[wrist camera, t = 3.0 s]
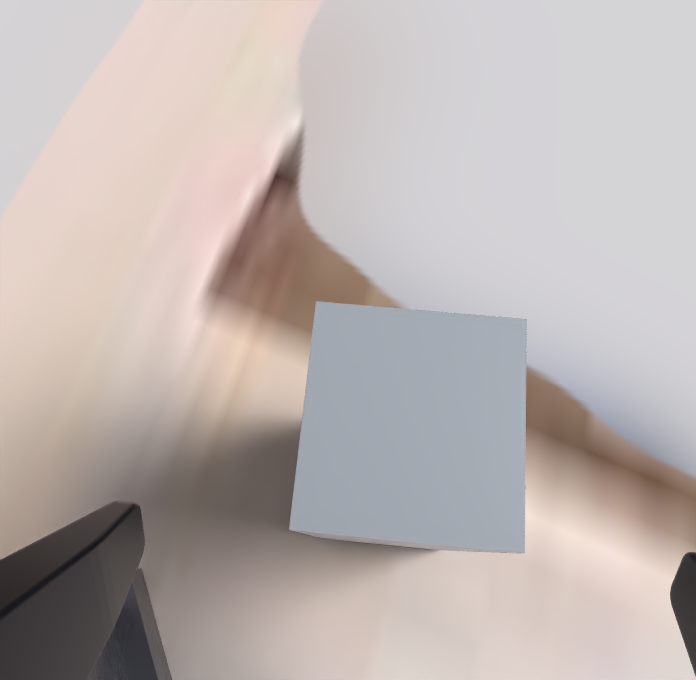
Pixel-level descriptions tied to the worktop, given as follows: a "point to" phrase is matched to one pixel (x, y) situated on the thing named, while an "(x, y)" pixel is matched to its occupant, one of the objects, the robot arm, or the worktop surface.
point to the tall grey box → (413, 430)
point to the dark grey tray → (133, 641)
